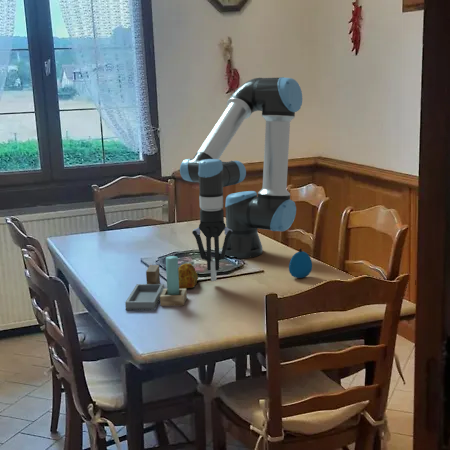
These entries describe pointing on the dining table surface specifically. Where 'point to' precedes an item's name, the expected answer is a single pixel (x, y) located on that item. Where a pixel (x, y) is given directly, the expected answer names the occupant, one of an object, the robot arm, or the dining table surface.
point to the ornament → (300, 264)
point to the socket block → (173, 298)
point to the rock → (187, 276)
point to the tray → (144, 297)
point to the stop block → (153, 274)
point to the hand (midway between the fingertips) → (213, 279)
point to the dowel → (172, 275)
